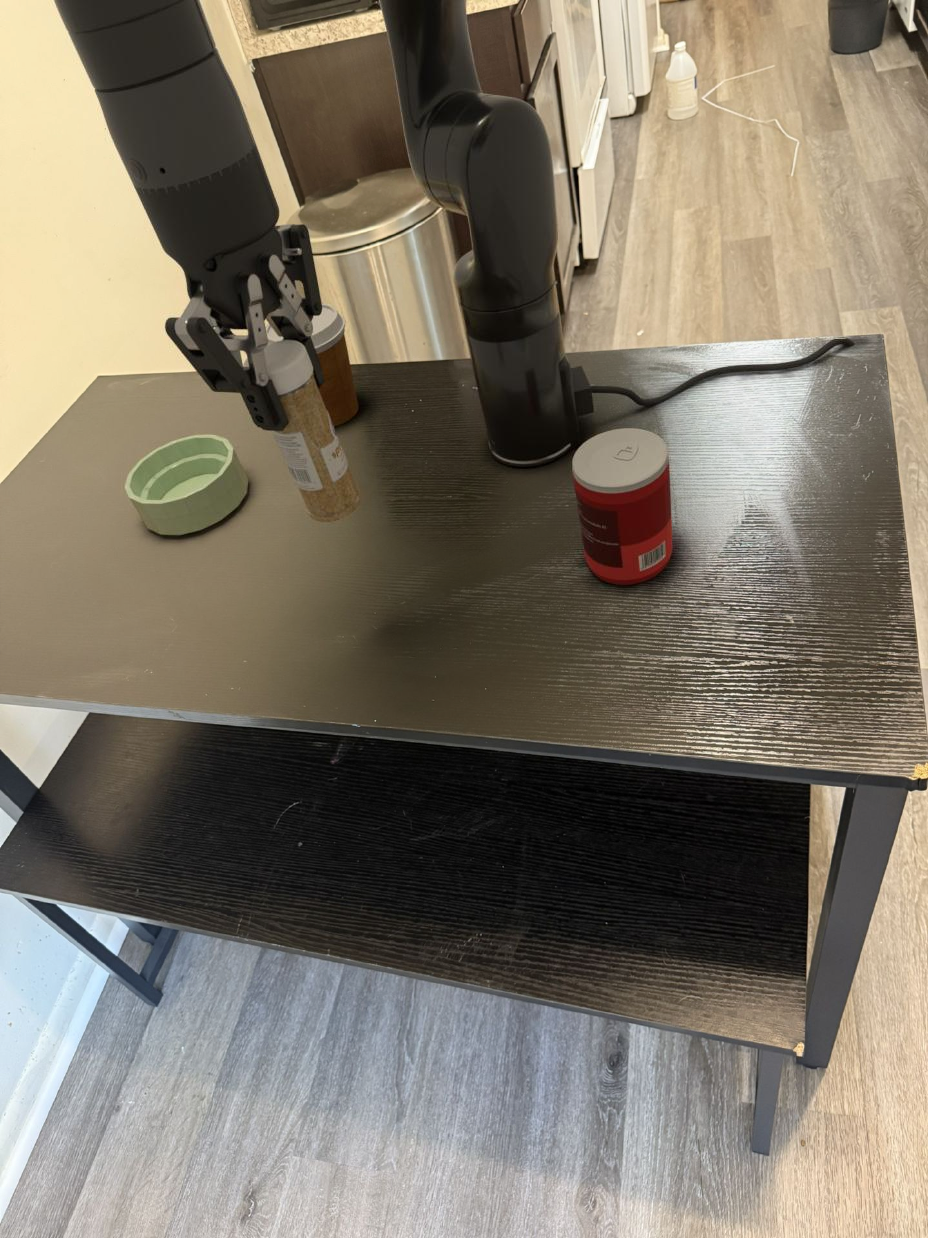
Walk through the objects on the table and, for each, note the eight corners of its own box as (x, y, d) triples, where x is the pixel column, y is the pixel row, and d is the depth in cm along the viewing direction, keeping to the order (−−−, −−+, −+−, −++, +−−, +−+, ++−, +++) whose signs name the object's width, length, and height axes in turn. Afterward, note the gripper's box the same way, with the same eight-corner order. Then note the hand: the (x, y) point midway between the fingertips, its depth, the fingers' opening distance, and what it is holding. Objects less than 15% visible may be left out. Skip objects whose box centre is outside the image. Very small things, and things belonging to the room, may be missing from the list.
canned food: (680, 529, 78) (676, 427, 71) (664, 591, 73) (658, 488, 66) (596, 524, 81) (584, 425, 73) (576, 584, 76) (560, 484, 68)
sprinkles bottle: (372, 504, 68) (315, 350, 58) (322, 533, 67) (256, 380, 57) (345, 480, 71) (287, 330, 61) (297, 507, 70) (230, 358, 60)
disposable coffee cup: (287, 411, 108) (251, 322, 99) (357, 382, 109) (328, 292, 101) (307, 446, 101) (270, 353, 93) (382, 415, 103) (352, 321, 94)
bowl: (253, 460, 102) (236, 424, 98) (246, 523, 93) (228, 486, 89) (154, 484, 102) (134, 449, 99) (138, 550, 94) (116, 514, 90)
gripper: (169, 206, 45) (287, 472, 56) (304, 103, 53) (382, 353, 65) (65, 213, 48) (198, 464, 60) (209, 114, 56) (300, 352, 68)
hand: (293, 405), depth 62 cm, fingers closed on sprinkles bottle, 4 cm apart
